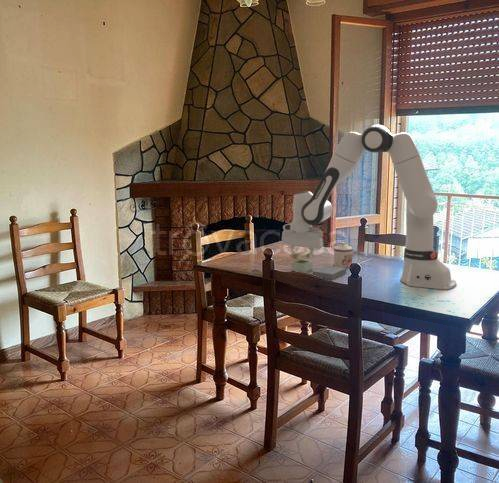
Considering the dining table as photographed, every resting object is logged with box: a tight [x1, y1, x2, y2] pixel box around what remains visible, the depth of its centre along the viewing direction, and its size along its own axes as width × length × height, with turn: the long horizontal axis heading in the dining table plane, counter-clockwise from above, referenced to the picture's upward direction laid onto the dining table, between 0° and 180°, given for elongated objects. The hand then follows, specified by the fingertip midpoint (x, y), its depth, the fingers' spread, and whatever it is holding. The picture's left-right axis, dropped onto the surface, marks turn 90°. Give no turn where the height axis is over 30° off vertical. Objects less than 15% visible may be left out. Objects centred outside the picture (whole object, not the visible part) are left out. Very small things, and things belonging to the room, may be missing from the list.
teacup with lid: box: [333, 241, 355, 269], centre depth 250 cm, size 12×9×12 cm
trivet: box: [312, 265, 347, 281], centre depth 235 cm, size 10×13×2 cm
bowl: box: [291, 259, 314, 274], centre depth 242 cm, size 7×7×4 cm
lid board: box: [289, 249, 315, 260], centre depth 241 cm, size 6×10×2 cm, turn 144°
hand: (302, 256), depth 241 cm, fingers closed on lid board, 6 cm apart
